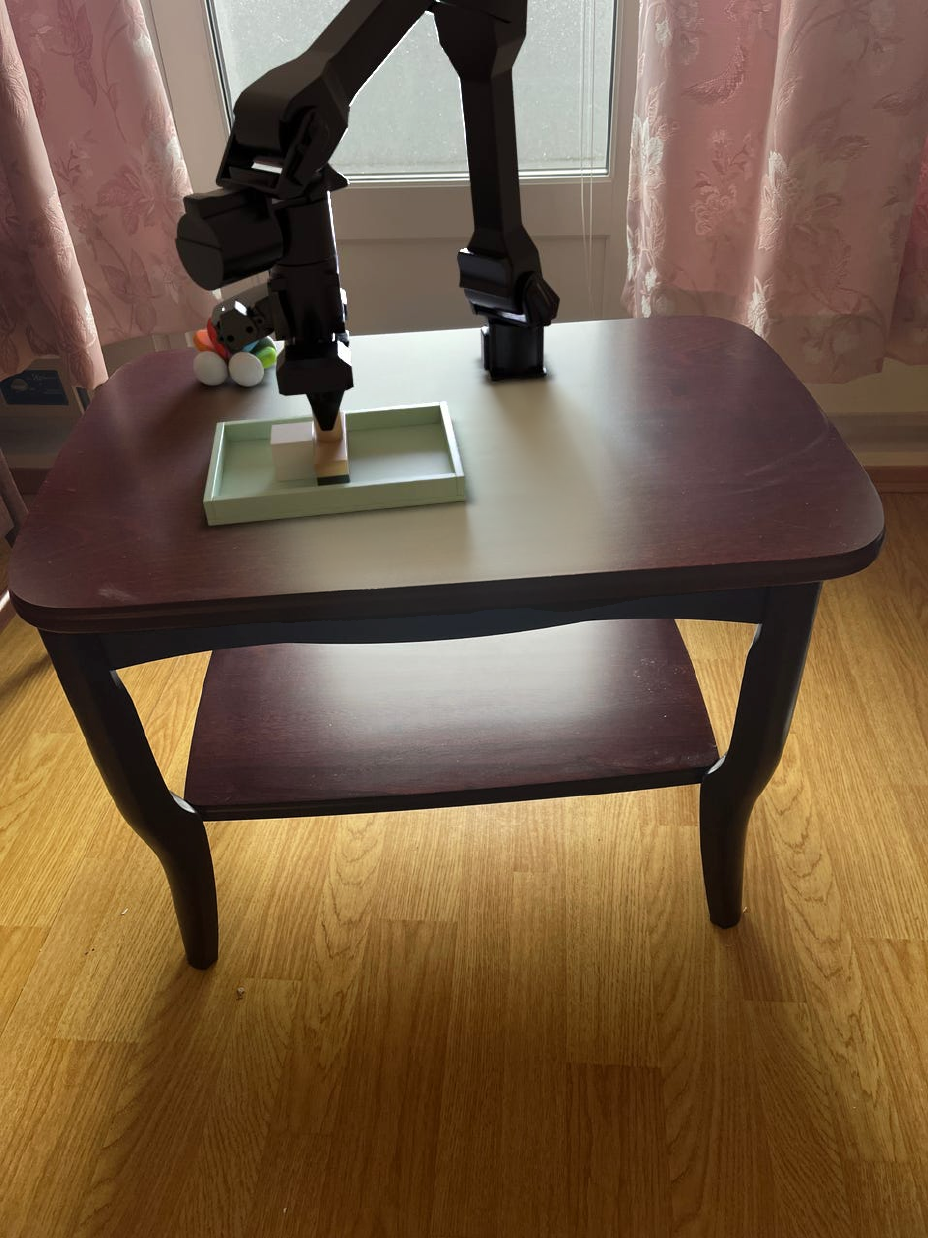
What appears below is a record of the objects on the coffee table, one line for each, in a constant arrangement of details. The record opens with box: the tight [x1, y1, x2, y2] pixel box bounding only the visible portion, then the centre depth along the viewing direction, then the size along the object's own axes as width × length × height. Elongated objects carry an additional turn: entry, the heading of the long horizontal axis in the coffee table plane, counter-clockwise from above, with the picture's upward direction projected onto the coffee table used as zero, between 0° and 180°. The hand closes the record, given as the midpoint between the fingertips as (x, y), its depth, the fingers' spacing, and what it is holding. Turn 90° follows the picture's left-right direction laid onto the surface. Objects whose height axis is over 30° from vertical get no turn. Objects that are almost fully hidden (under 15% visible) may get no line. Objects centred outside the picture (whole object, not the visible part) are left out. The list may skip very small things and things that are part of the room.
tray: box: [202, 401, 467, 527], centre depth 92 cm, size 24×16×3 cm, turn 97°
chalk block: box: [270, 422, 317, 482], centre depth 91 cm, size 4×4×4 cm
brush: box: [310, 407, 351, 486], centre depth 90 cm, size 3×10×9 cm, turn 7°
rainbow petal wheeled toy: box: [192, 316, 278, 387], centre depth 110 cm, size 8×10×7 cm
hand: (327, 423), depth 90 cm, fingers closed on brush, 2 cm apart
